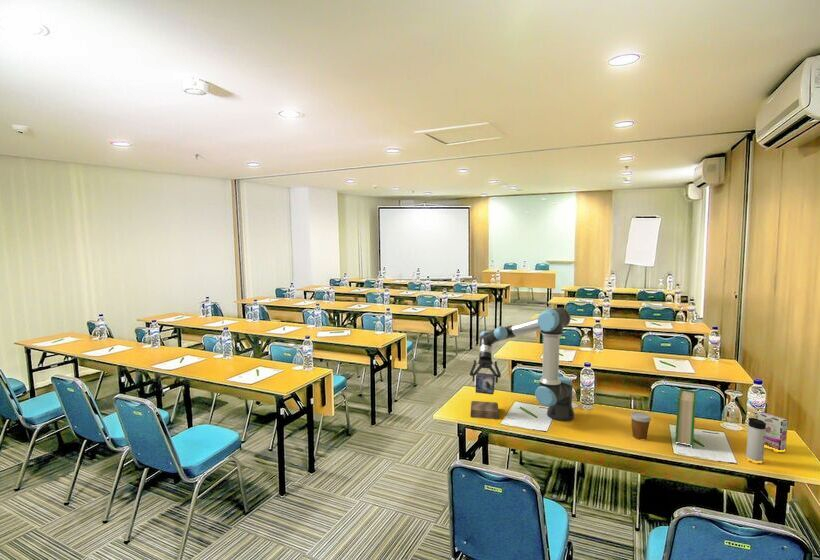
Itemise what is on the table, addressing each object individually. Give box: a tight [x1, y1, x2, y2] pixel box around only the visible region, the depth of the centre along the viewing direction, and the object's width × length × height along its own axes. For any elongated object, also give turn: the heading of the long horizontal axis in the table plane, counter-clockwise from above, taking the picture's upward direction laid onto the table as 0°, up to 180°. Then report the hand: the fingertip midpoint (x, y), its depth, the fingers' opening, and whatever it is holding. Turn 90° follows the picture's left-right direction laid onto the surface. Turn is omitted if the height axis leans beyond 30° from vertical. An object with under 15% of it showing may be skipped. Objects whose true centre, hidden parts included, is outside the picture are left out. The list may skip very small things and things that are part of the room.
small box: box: [475, 372, 495, 396], centre depth 253 cm, size 11×6×10 cm, turn 73°
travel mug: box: [745, 417, 766, 462], centre depth 198 cm, size 6×7×20 cm
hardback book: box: [674, 388, 697, 447], centre depth 220 cm, size 18×7×24 cm, turn 145°
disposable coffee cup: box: [629, 411, 652, 440], centre depth 223 cm, size 10×10×12 cm
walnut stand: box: [470, 400, 500, 420], centre depth 254 cm, size 16×16×4 cm
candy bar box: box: [756, 411, 789, 450], centre depth 212 cm, size 11×5×16 cm, turn 21°
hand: (485, 386), depth 250 cm, fingers closed on small box, 11 cm apart
